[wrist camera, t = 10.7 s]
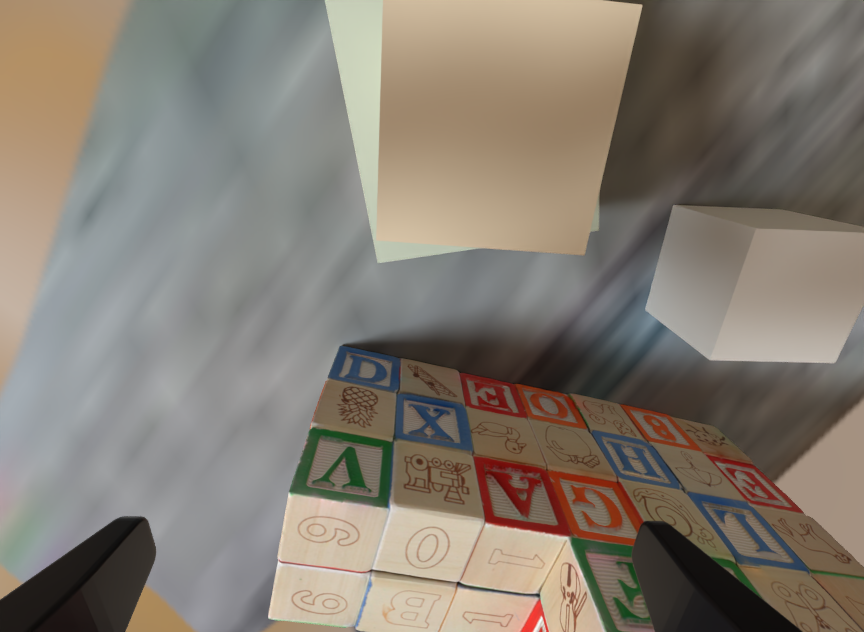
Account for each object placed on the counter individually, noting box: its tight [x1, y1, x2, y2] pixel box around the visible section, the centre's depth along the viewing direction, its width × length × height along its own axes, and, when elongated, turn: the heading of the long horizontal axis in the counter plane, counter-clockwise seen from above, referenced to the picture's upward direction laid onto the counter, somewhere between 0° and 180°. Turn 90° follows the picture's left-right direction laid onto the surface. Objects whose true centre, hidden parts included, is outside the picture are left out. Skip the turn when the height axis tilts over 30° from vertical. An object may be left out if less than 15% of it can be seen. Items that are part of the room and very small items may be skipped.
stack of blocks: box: [268, 346, 864, 632], centre depth 18 cm, size 21×6×12 cm, turn 75°
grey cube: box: [645, 205, 864, 363], centre depth 17 cm, size 5×5×5 cm
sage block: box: [325, 0, 599, 263], centre depth 15 cm, size 8×8×4 cm
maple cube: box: [376, 0, 643, 255], centre depth 11 cm, size 5×5×5 cm
